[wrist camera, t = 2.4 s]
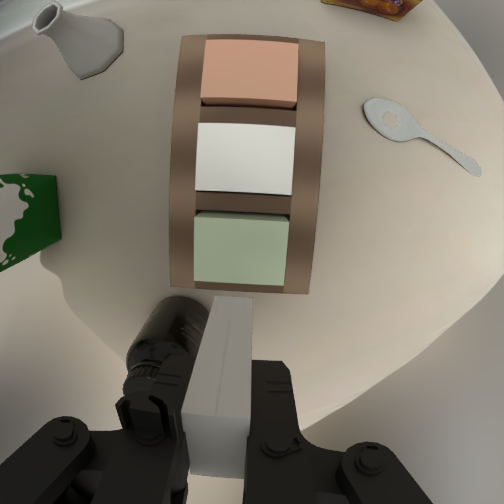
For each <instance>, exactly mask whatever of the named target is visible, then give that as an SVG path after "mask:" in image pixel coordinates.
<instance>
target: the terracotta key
mask: <svg viewBox="0 0 504 504" xmlns="http://www.w3.org/2000/svg"><path fill="white" fill-rule="evenodd" d="M298 49H299V44H296V43H287V42H276V41H261V40H231V39H219V40H206V44H205V53H204V63H203V73H202V83H201V95H200V98H201V99H202V100H203V102H204V103H205V104H206V106H207V107H248V108H265V109H279V110H290V111H291V110H292V108H293V107H294V105H295V104H296V102H297V82H298Z"/></svg>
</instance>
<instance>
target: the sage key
mask: <svg viewBox="0 0 504 504" xmlns="http://www.w3.org/2000/svg"><path fill="white" fill-rule="evenodd" d="M288 231H289V221H288V220H287V218H286V217H285V215H284V214H271V213H254V212H235V211H214V210H202V211H201V212H200V213H199V214H198V215H196V216H195V217H194V281H206V282H222V283H240V284H258V285H279V286H284V276H285V266H286V255H287V243H288Z"/></svg>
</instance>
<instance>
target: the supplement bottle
mask: <svg viewBox="0 0 504 504" xmlns="http://www.w3.org/2000/svg"><path fill="white" fill-rule="evenodd" d="M208 318H209V314H208V313H207V311H206V310H205V309H204V308H203V307H202V306H201V305H199V304H198V303H196V302H195V301H192V300H190V299H187V298H181V297H174V298H169V299H166V300H164V301H162V302H161V303H160V304H159V305H158V306H157V307H156V308H155V309H154V311H153V312H152V314H151V315H150V317H149V318H148V320H147V321H146V323H145V324H144V326H143V327H142V329H141V331H140V332H139V334H138V335H137V337H136V338H135V340H134V342H133V343H132V345H131V347H130V348H129V350H128V353H127V356H126V366H127V370H128V375H127V378H126V380H125V382H124V384H123V394H124V396H125V395H127V394H129V393H133V392H137V391H150V389H151V387H152V385H153V384H154V380H155V378H156V376H157V375H158V371H159V369H160V367H161V364H162V362H164V361H165V360H166V359H167V358H168V357H170V356H171V355H172V354H175V355H183V356H193V357H197V354H198V351H199V348H200V344H201V341H202V338H203V334H204V331H205V328H206V324H207V321H208Z"/></svg>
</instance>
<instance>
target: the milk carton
mask: <svg viewBox="0 0 504 504" xmlns="http://www.w3.org/2000/svg"><path fill="white" fill-rule="evenodd" d="M60 239H61V232H60V223H59V214H58V203H57V189H56V176H51V175H35V174H5V175H0V272H2V271H4V270H5V269H7V268H9V267H11V266H13V265H15V264H17V263H19V262H21V261H23V260H25V259H27V258H29V257H30V256H32V255H34V254H35V253H37V252H39V251H40V250H42V249H44V248H46V247H47V246H49V245H51V244H53V243H54V242H56V241H58V240H60Z"/></svg>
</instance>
